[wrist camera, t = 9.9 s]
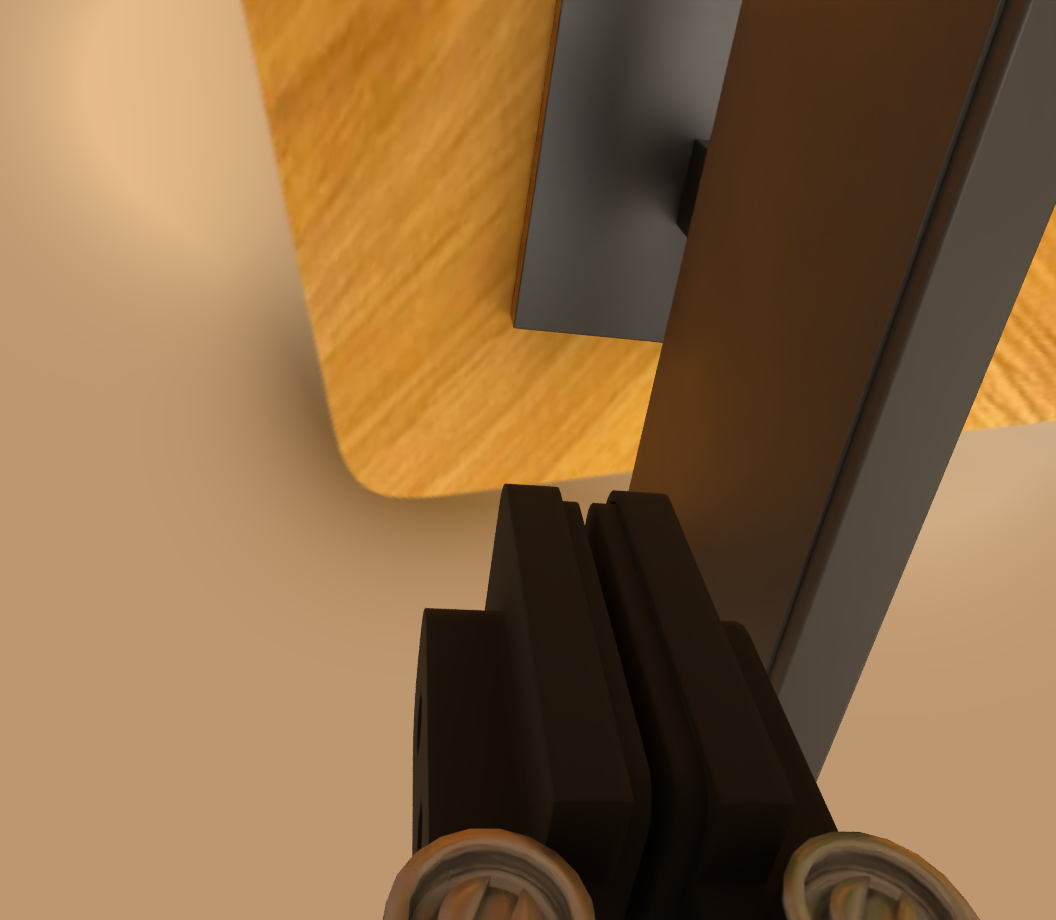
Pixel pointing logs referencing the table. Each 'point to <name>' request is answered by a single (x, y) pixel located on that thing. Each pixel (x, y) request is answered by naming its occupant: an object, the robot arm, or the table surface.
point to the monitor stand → (619, 162)
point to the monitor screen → (844, 309)
